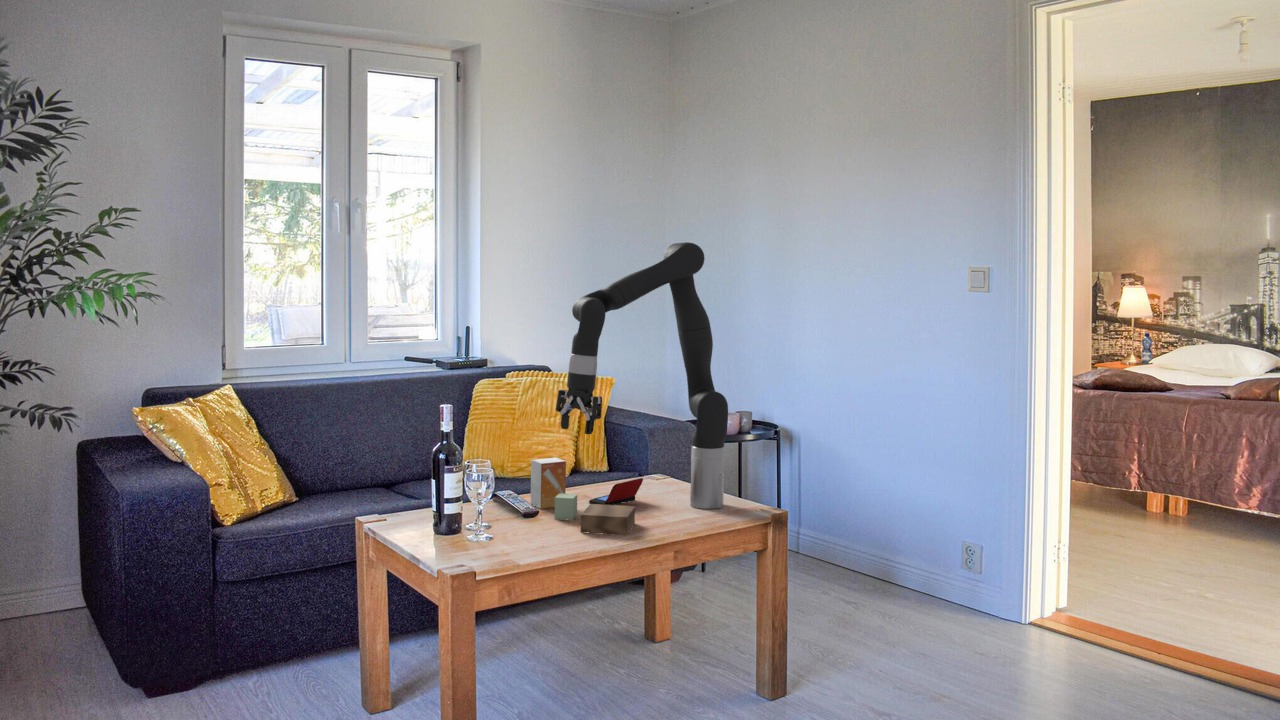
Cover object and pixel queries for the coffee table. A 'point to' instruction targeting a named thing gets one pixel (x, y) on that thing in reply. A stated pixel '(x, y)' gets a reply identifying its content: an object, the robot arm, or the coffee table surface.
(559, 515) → the green block
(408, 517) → the coffee table surface
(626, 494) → the handheld game console
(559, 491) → the small box
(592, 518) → the walnut base
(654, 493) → the coffee table surface
